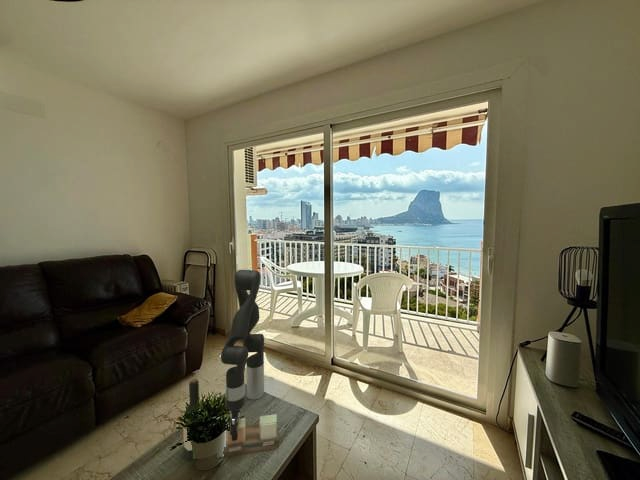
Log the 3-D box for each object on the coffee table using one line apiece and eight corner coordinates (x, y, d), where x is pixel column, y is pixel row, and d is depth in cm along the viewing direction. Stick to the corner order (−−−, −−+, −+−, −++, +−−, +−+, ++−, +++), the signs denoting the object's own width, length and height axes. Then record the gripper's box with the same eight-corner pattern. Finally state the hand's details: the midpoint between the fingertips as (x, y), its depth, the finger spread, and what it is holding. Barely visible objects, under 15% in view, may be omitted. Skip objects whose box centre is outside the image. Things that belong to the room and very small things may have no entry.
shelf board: (222, 433, 111) (222, 426, 110) (277, 425, 115) (277, 417, 115) (216, 459, 99) (216, 450, 98) (278, 448, 103) (278, 440, 103)
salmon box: (228, 438, 106) (228, 420, 105) (245, 435, 107) (245, 418, 107) (226, 448, 101) (226, 429, 101) (244, 445, 102) (244, 426, 102)
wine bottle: (197, 462, 97) (195, 388, 95) (179, 458, 99) (176, 385, 97) (211, 444, 105) (209, 375, 103) (193, 440, 107) (191, 373, 105)
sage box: (260, 434, 108) (259, 416, 108) (276, 431, 109) (276, 414, 109) (259, 443, 103) (259, 424, 103) (276, 440, 105) (276, 422, 104)
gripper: (243, 404, 97) (243, 444, 98) (246, 382, 111) (247, 416, 112) (222, 407, 95) (223, 447, 96) (228, 384, 109) (229, 419, 110)
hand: (236, 431), depth 104 cm, fingers open, 8 cm apart
